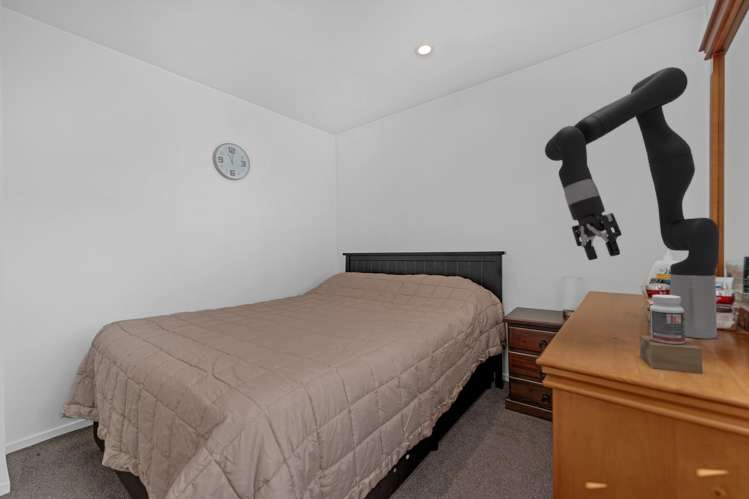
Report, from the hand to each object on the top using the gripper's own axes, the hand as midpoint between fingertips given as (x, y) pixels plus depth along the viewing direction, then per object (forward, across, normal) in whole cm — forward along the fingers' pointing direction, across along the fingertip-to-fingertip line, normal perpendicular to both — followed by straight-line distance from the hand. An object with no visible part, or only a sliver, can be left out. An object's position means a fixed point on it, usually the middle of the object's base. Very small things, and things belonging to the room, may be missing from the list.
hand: (603, 257), depth 85 cm
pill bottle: (+20, -11, +1) cm, 23 cm away
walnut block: (+25, -10, +2) cm, 27 cm away
